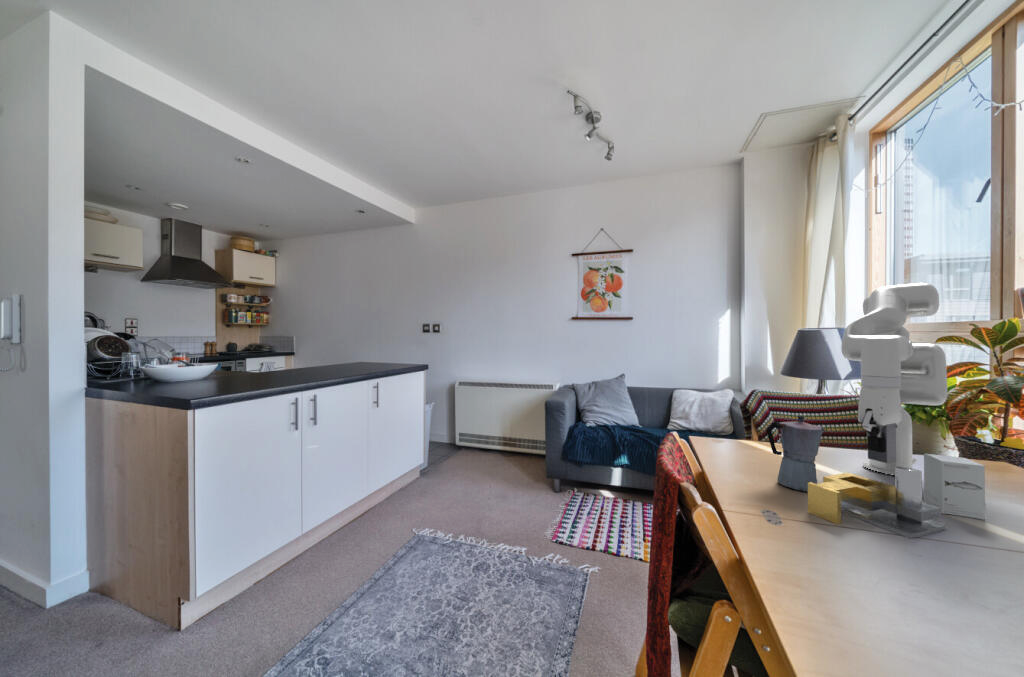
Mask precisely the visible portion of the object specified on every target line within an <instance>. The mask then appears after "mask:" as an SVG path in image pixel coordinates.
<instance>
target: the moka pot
mask: <svg viewBox="0 0 1024 677" xmlns="http://www.w3.org/2000/svg"><path fill="white" fill-rule="evenodd" d="M804 420H805V417H804V416H802V415H797V421H794V420H793V421H781V422H777V421H775V420H774V421H772V422H771V424H770V425H769V426H768V427H767V428H766V429H765V430H766V431H765V432H766V435H767V437H768V441H769V445H770V448H771V451H772V454H773V455H777V456H782V455H783V456H782V458H781V462H780V467H779V471H778V475H777V482H778V483H779V484H780V485H782V486H784V487H786V488H790V489H792V490H793V489H794V490H797V491H801V492H807V493H808V483H810V482H812V483H815V484H818V479H817V470H816V469H817V465H816V463H815V462H816V457H817V456H818V453H819V450H820V443H821V439H822V435H823V434H824V432H825V431H826V428H824V427H822V426H819V425H814V424H810V423H808V422H804ZM773 429H777V430H780V438H781V448H782V451H780V450H777V448H776V444H775V440H774V435H773V432H772V431H773Z"/></svg>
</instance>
